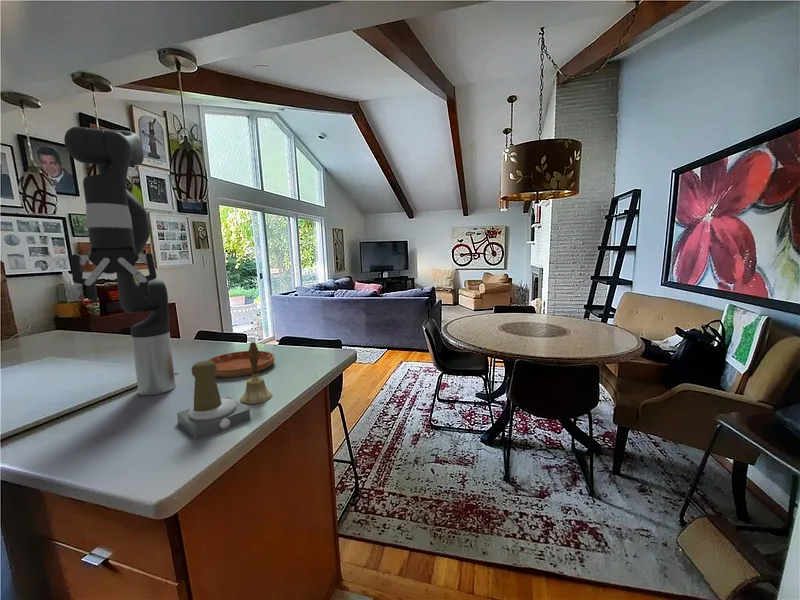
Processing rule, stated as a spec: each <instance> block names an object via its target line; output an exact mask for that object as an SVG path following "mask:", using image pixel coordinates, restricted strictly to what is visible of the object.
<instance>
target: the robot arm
mask: <svg viewBox="0 0 800 600" xmlns="http://www.w3.org/2000/svg"><path fill="white" fill-rule="evenodd" d="M63 141H64V147H65V149H66V151H67V152H68V154H69V155H70V157H72V158H73V159H74V160H76V162H79V163H82V164H88V165H96V166H97V171H98V174H92V175H87V176H85V177H84V178H83V179H82V180H83V181H82V185H83V186H82V187H83V194H84V199H85V218H86V220H85V223H86V226H87V232H88V233H87V234H88V239H89V246H90V247H89V248H90V253H89V255H84V254H83V255H80V254H72V255H71V256H70V258H71V259H70V260H71V273H72V274H71V275H72V282H73V283H74V284H79V285H84V287H85V289H86V296H87V299H88V301H89V302H90V301H91V302H92V304H98V303H99V298H98V291H97V290H98V289H97V285H96V284H95V283H96V281H97V280H98V279H99V278H100V277H101V275H102V274H106V275H111V274H116V283H117V285H116V286H117V293H118V300H119V304H120V306H121V307H120V308H121V309H122V311H124V312H125V313H127V314H135V313H144V312H150V314H149V315H148V316H147V317H146V318H145V319H143V320H141V321H139V322H138V323H135V324H132V326H131V327H130V338H131V346H132V352H133V360H134V367H135V375H136V383H137V392H138V395H140V396H153V395H159V394H164V393H166V392H170V391H172V390H173V389H175V388H176V375H175V367H174V360H173V351H172V343H171V335H170V334H171V332H170V315H169V312H170V311H169V295H168V290H167V289H168V288H167V286H166V284H165V283H164V281H163V280H162V279H160V278H157V271H156V266H155V261H154V256H153V254H152V253H149V252H148V253H143V254H142V253H141V252H142V251H143V249H144V248H145V246H146V244H147V242H148V241H149V238H150V235H151V234H150V233H151V230H150V225H149V218H148V214H147V211H146V209H145V207H144V206H143V204H142V203H141V202H140V201H139V200H138V199H137V198H136V197H135V195H133V194H132V193H131V192H130V191H129V190H128V189H127V177H128V171H129V167H130V166H131V167H132V166H139V165H141V164H142V163H143V162H144V160H145V158H144V157H145V155H144V148H143V144H142V142H141V139H140V137H139V136H138V135H137V134H136V133H135V132H133V131H128V130H123V129H122V130H120V129H107V128H92V127H86V126H85V127H82V126H73V127H70V128H68V130H67V131H66V132H65V135H64V139H63ZM139 259H140V260H141V261H142V263H144V264H146V265H147V269H148V274H147V275H145V274H143V273H142V272H141V271H140V270H139V269H138V268H137V267H136V263H138V261H139ZM87 261H90V263H91V264H93V265H94V266H95V269H93V271H92V272H91V273H90V274H89V276H88V277H87V278H85V277H83V265H86V263H87ZM135 278H136V279H135Z"/></svg>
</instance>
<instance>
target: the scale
mask: <svg viewBox="0 0 800 600" xmlns="http://www.w3.org/2000/svg"><path fill="white" fill-rule="evenodd" d="M220 399H221V403H222V404H221V405H220V406H219V407H217V408H215V409H212V410H208V411H195V410H194V406H193V407H191V408H188V409H184V410H182V411H177V412H176V414H177V415H176V416H177V423H178V424H179V425H180V426H181V427H182V428H183V429H185V430H186V431H187V432H188V433H189V434H190V435H191V436H192V437H193V438H194V439H195V440H198V439H201V438H204V437H206V436H207V437H208V435H212V434H214V433H217V432H220V431H222V430H225V429H228V428H230V427H232V426H233V427H234V426H235V425H238V424H240V423H243V422H246V421H249V420H251V410H250V408H248V407H247V406H245V405H244V404H243V403H241V402H238V401H237V400H235V399H234V398H232V397H230V396H226V397H223V398H220Z"/></svg>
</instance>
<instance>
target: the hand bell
mask: <svg viewBox="0 0 800 600" xmlns="http://www.w3.org/2000/svg"><path fill="white" fill-rule="evenodd" d="M249 344H250V345H249V348H248V351H249V352H248V354H249V360H250V362H251V367H252V374H251V377H250V378H248V379H247V380H246V386H245V390H244V391H245V392H244V394H243V395H242V396H241V398H240V399H239V401H240V403H241V404H243V405H257V404H261V403H264V402H265V403H266V402H267V401H269V400H271V398H272V397H273V394H272V392H271V391H270V390H268V388H267V386H266V383H265V379H264V378H263V376H262V377H261V376H259V372H258V366H257V363H258V359H259V351H260V350H259V348H258V346H257V343H256V342H255V341H251V342H249Z"/></svg>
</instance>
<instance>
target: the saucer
mask: <svg viewBox="0 0 800 600" xmlns="http://www.w3.org/2000/svg"><path fill="white" fill-rule="evenodd" d="M258 351H259V359H258V363H257V366H258V373H259V372H261V370H262V371H263V370H265V368H266V369H267V368H268V367H269V366H271V365H273V363H274V362H275V354H273V353H272V352H270V351H264V350H258ZM248 352H249V350H244V351H243V350H241V351H235V352H229V353H223V354H219V355H217V356H213V357H211V358H208V359H206V361H213V362H214V363H215V364H216V372H215V374H214V375H215V377H220V378H234V377H236V376H237V377H243V375H244V376H249V375H252V367H251V362H250V360H249V354H248ZM248 374H249V375H248Z"/></svg>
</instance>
